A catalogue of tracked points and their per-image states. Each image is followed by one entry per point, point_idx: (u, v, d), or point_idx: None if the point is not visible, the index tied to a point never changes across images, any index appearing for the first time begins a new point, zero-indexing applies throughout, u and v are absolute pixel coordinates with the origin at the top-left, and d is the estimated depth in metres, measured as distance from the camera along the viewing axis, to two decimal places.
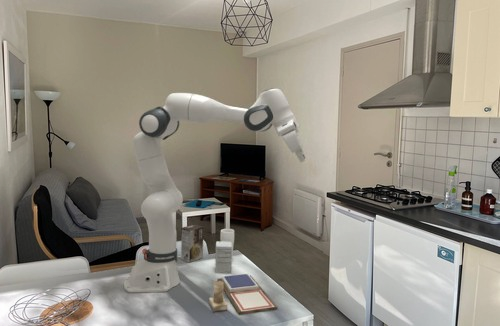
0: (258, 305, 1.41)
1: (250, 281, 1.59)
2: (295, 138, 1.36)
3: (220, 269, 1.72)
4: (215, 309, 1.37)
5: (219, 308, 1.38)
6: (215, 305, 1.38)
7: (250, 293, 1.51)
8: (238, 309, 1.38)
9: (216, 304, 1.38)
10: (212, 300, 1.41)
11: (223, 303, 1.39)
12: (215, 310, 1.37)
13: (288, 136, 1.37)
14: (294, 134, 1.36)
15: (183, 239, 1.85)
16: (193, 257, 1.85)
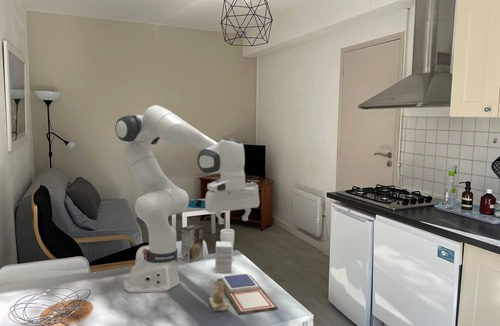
0: (258, 305, 1.41)
1: (250, 281, 1.59)
2: (209, 200, 1.31)
3: (220, 269, 1.72)
4: (215, 309, 1.37)
5: (219, 308, 1.38)
6: (215, 305, 1.38)
7: (250, 293, 1.51)
8: (238, 309, 1.38)
9: (216, 304, 1.38)
10: (212, 300, 1.41)
11: (223, 303, 1.39)
12: (215, 310, 1.37)
13: (207, 194, 1.33)
14: (210, 196, 1.31)
15: (183, 239, 1.85)
16: (193, 257, 1.85)
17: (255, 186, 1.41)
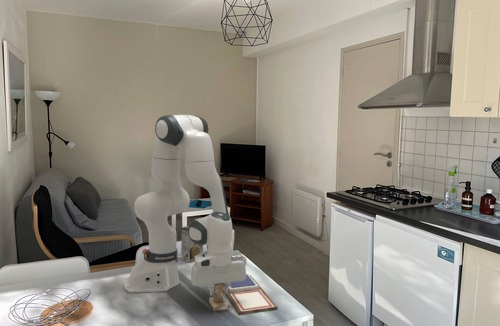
0: (258, 305, 1.41)
1: (250, 281, 1.59)
2: (193, 274, 1.35)
3: None
4: (215, 309, 1.37)
5: (219, 308, 1.38)
6: (215, 305, 1.38)
7: (250, 293, 1.51)
8: (238, 309, 1.38)
9: (216, 304, 1.38)
10: (212, 300, 1.41)
11: (223, 303, 1.39)
12: (215, 310, 1.37)
13: (193, 267, 1.37)
14: (194, 271, 1.35)
15: (184, 239, 1.85)
16: (193, 257, 1.85)
17: (243, 259, 1.42)
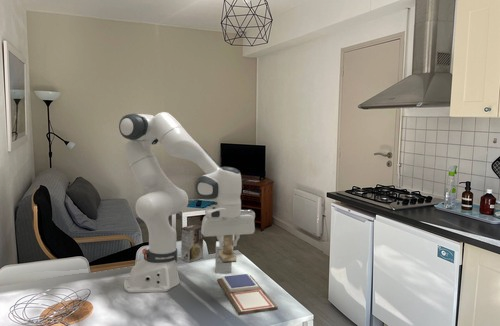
0: (258, 305, 1.41)
1: (250, 281, 1.59)
2: (203, 225, 1.40)
3: (220, 269, 1.72)
4: (224, 259, 1.42)
5: (228, 259, 1.43)
6: (224, 256, 1.43)
7: (250, 293, 1.51)
8: (238, 309, 1.38)
9: (225, 255, 1.43)
10: (222, 252, 1.46)
11: (232, 254, 1.44)
12: (225, 261, 1.42)
13: (203, 219, 1.42)
14: (204, 222, 1.40)
15: (184, 239, 1.85)
16: (193, 257, 1.85)
17: (251, 213, 1.47)
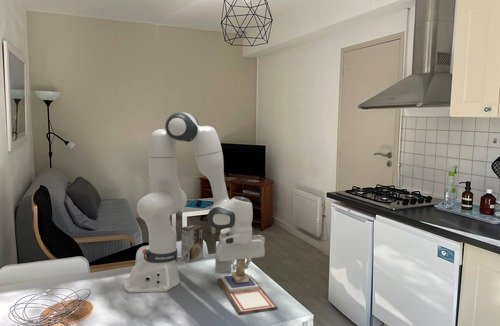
0: (258, 305, 1.41)
1: (250, 281, 1.59)
2: (218, 251, 1.53)
3: (220, 269, 1.72)
4: (238, 281, 1.55)
5: (241, 280, 1.56)
6: (238, 278, 1.56)
7: (250, 293, 1.51)
8: (238, 309, 1.38)
9: (239, 277, 1.56)
10: (235, 274, 1.59)
11: (245, 276, 1.57)
12: (238, 282, 1.55)
13: (218, 245, 1.55)
14: (219, 247, 1.53)
15: (184, 239, 1.85)
16: (193, 257, 1.85)
17: (261, 238, 1.60)
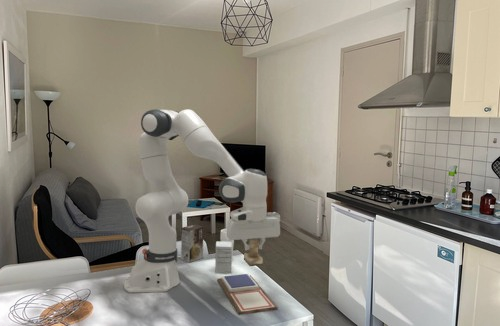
0: (258, 305, 1.41)
1: (250, 281, 1.59)
2: (230, 229, 1.38)
3: (220, 269, 1.72)
4: (251, 263, 1.40)
5: (255, 262, 1.40)
6: (251, 259, 1.40)
7: (250, 293, 1.51)
8: (238, 309, 1.38)
9: (252, 258, 1.41)
10: (247, 255, 1.44)
11: (258, 257, 1.42)
12: (251, 264, 1.40)
13: (229, 222, 1.39)
14: (231, 225, 1.37)
15: (183, 239, 1.85)
16: (193, 257, 1.85)
17: (277, 216, 1.44)
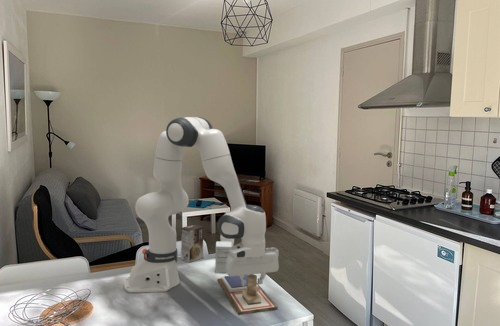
0: (258, 305, 1.41)
1: None
2: (228, 265, 1.39)
3: (220, 269, 1.72)
4: (249, 301, 1.41)
5: (253, 300, 1.42)
6: (249, 298, 1.42)
7: None
8: (238, 309, 1.38)
9: (250, 297, 1.42)
10: (245, 293, 1.45)
11: (257, 296, 1.43)
12: (250, 303, 1.41)
13: (228, 258, 1.41)
14: (230, 262, 1.39)
15: (184, 239, 1.85)
16: (193, 257, 1.85)
17: (275, 251, 1.46)
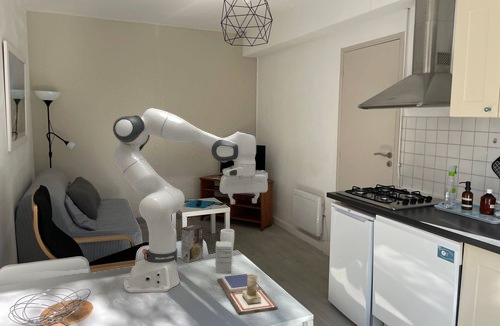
0: (258, 305, 1.41)
1: None
2: (222, 183, 1.55)
3: (220, 269, 1.72)
4: (249, 301, 1.41)
5: (253, 300, 1.42)
6: (249, 298, 1.42)
7: None
8: (238, 309, 1.38)
9: (250, 297, 1.42)
10: (245, 293, 1.45)
11: (257, 296, 1.43)
12: (250, 303, 1.41)
13: (222, 178, 1.56)
14: (223, 180, 1.54)
15: (184, 239, 1.85)
16: (193, 257, 1.85)
17: (265, 174, 1.61)
